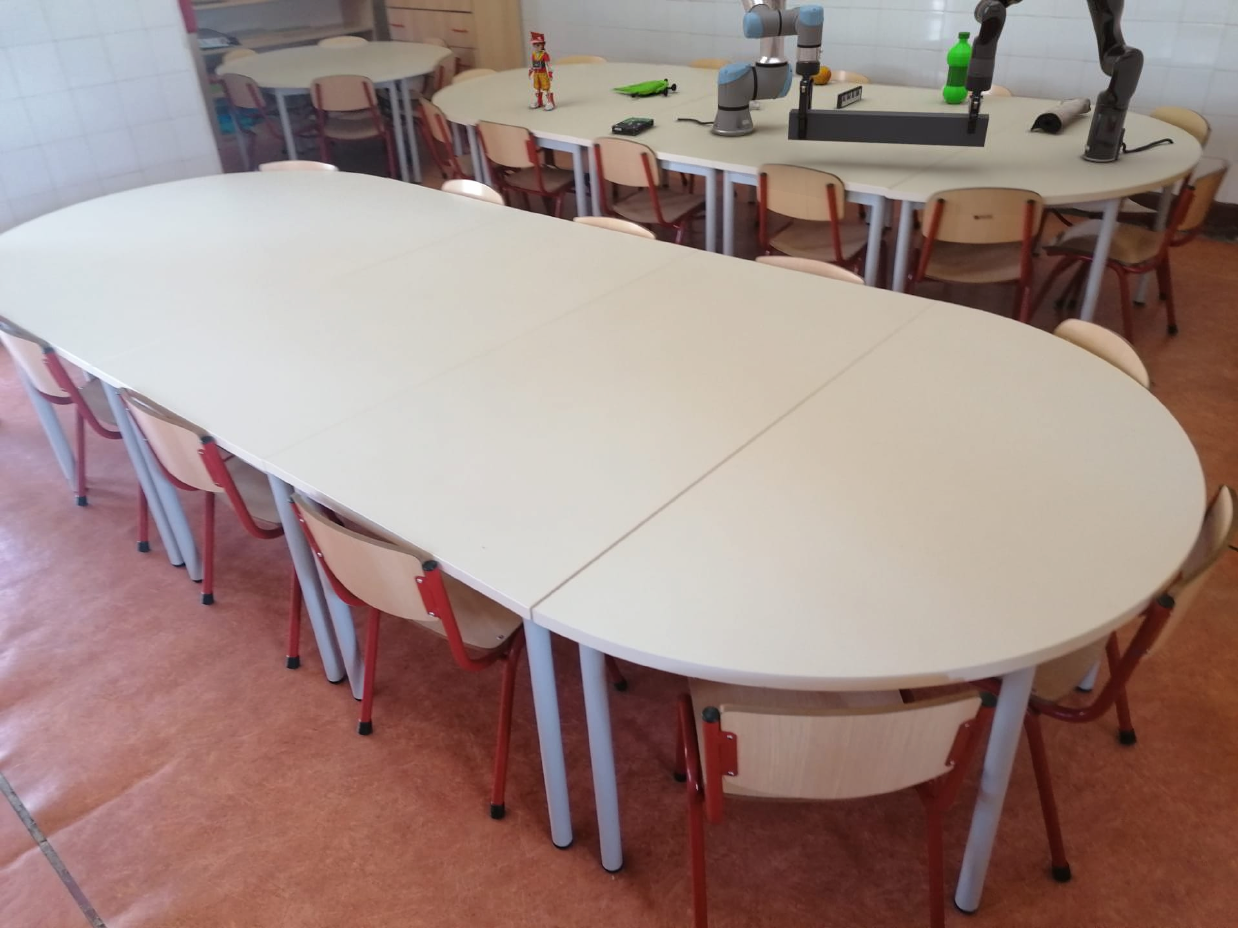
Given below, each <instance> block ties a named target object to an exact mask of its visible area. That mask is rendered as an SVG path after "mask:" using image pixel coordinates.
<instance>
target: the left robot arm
mask: <svg viewBox="0 0 1238 928" xmlns="http://www.w3.org/2000/svg"><path fill="white" fill-rule="evenodd" d="M741 2H742V6H743V8H744V12H745V14H744V15H743V19H742V30H743V36H744V37H745V38H746V39H756V40H758V39H760V40H759V42H760V43H759V55H758V57H757V58H755V61H754V62H755V63H754V65H753V66H752V65H751V63H750V62H748V61H742V62H741V61H739V62H737V61H736V62H732V63H727V64H726V65H723V66H722V67H720V69H719V70H718V75H717V111H716V114H715V118H714V120H713V121H700V120H698V119H695V118H684V117H683V118H682V117H678V118H677V121H683V122H687V121H688V122H695V123H697V124H699V125H712V133H713V134H715V135H717V136H721V137H741V136H746V135H750V134H752V133H754V127H755V126H754V122H753V118H752V115H751V111H750V109H749V102H750V101H754V100H756V101H766V100H777V99H782V98H785V97H786V96H788V94H789V92H790V90H791V88H792V84H793V75H794V74H793V66H792V64H791V63H789V58H788V57H787V56H786V55H785V41H786V40H785V38H786V37H791V36H797V41H796V42H797V45H796V55H795V60H796V62H795V75H797V76H801V77H802V78H801V79H800V81H799V88H798V89H799V97H798V109H799V111H798V117H797V119H799V124H798V139H806V134H807V119H808V118H807V111H808V109H813V107H812V105H813V91H814V84H815V83H814V77H812V76H814V75H817V74H819V72H820V66H821V61H820V60H821V55H822V54H821V53H823V52H824V50H823V49H822V43H823V32H824V31H823V30H824V22H825V21H824V20H825V17H824V16H825V14H824V13H825V11H824V7H823V6H822V5H817V4H807V5H803V6H795V7H793V8H791V9H787V0H741Z"/></svg>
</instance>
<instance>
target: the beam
mask: <svg viewBox="0 0 1238 928" xmlns="http://www.w3.org/2000/svg"><path fill="white" fill-rule="evenodd" d="M798 111H799V108H791V109H790V111H789V113H788V125H787V126H788V129H787V131H788V132H787V140H788V141H806V142H811V141H812V142H834V143H835V142H837V143H863V144H888V145H890V144H891V145H913V146H914V145H917V146H943V147H944V146H946V147H967V148H969V147H971V148H974V147H975V148H985V145H986V139H987V133H988V127H989V122H990V113H978V120H977V121H976V127H975V132H974V134H968V133H967V129H968V122H969V120H968V118H969V113H968V112H967V113H963V112H932V111H931V112H929V111H927V112H925V111H895V110H894V111H892V110H891V111H888V110H887V111H886V110H859V109H858V110H855V109H854V110H853V109H821V108H820V109H816V108H815V109H814V108H811V109H808V111H807V118H808V119H807V134H806V139H798V124H799V119H797V117H798ZM971 116H976V114H971Z"/></svg>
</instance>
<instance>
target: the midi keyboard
mask: <svg viewBox="0 0 1238 928" xmlns="http://www.w3.org/2000/svg"><path fill="white" fill-rule="evenodd" d="M862 93H863V85H858V86H856V87H855V86H854V87H853V88H851V89H847V90H846V91H843V92H840V93H838V94H837V98H836V108H837V109H841V108H843V107H844V106H846V105H849V104H852V103H855V102H856V101H859V100H862Z"/></svg>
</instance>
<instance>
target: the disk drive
mask: <svg viewBox="0 0 1238 928" xmlns="http://www.w3.org/2000/svg"><path fill="white" fill-rule="evenodd" d="M653 126H655V121H654V118H645V117H633V116H632V117H628V118H627V119H624V120H621V121H619V122H618V123H615V124H613V125H612V126H611V132H612V133H614V134H620V135H629V136H630V135H631V136H635V135H638V134H639V133H642V132H644V131H646V130H648V129H651V128H653Z"/></svg>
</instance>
